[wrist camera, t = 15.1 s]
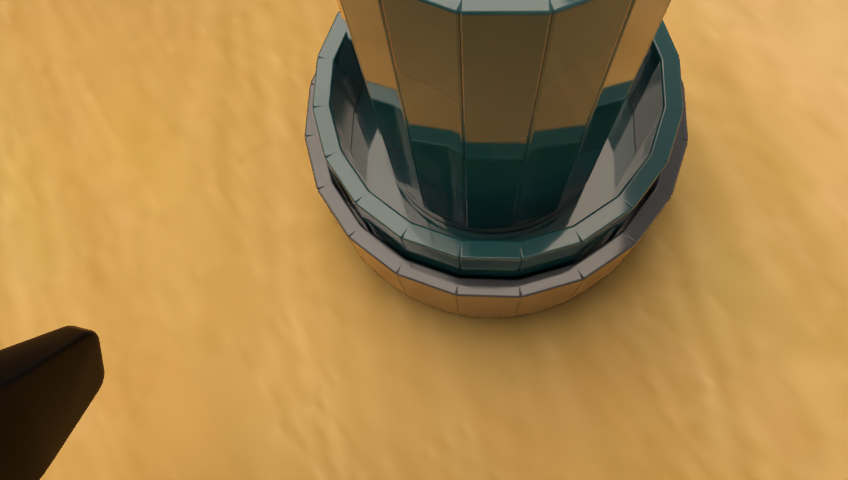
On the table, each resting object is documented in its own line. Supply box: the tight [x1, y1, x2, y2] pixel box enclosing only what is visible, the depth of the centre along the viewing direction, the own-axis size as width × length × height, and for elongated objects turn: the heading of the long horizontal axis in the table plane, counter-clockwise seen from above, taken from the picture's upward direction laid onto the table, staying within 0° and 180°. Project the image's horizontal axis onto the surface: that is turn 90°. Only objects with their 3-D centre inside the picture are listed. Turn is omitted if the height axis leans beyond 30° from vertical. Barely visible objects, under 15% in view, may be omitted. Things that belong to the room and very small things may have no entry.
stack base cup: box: [305, 73, 688, 318], centre depth 20 cm, size 11×11×3 cm
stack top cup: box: [312, 12, 683, 280], centre depth 19 cm, size 10×10×5 cm
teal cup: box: [336, 0, 671, 233], centre depth 15 cm, size 6×6×10 cm
